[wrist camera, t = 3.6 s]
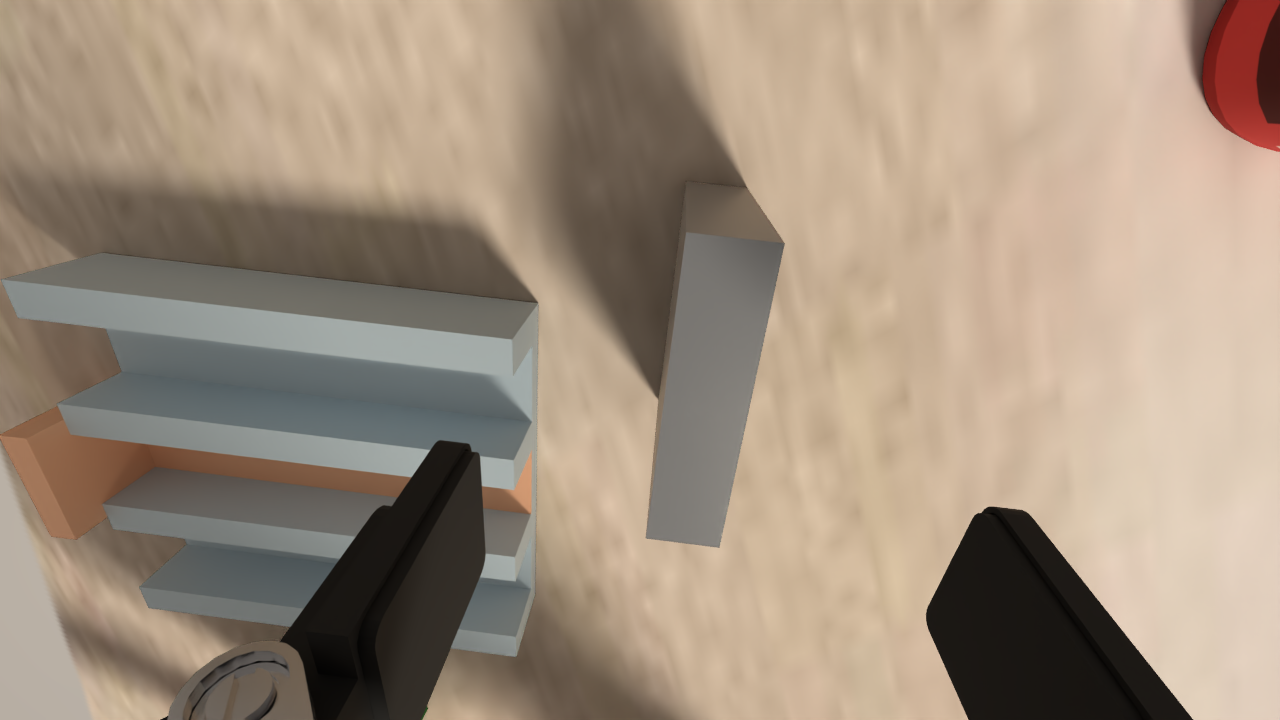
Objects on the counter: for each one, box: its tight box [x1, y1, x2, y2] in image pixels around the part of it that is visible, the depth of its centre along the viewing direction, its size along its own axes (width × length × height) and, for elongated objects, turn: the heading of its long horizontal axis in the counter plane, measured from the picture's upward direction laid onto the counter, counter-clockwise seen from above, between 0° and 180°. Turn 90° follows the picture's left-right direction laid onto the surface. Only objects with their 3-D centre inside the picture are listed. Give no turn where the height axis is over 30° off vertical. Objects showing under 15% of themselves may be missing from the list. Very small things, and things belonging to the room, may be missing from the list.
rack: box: [0, 253, 538, 657], centre depth 26 cm, size 21×18×6 cm
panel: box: [646, 181, 785, 548], centre depth 19 cm, size 10×2×9 cm, turn 175°
